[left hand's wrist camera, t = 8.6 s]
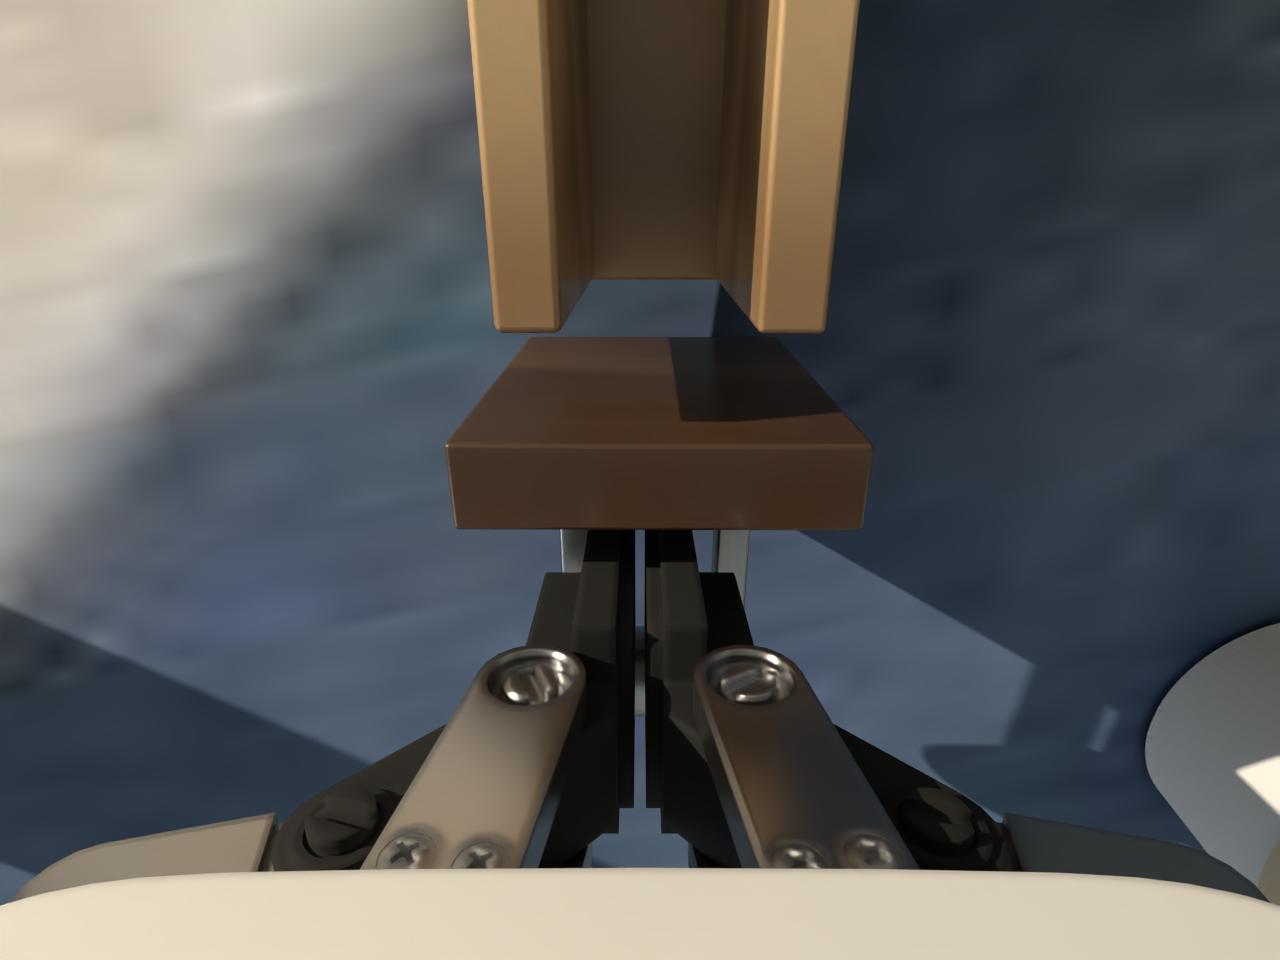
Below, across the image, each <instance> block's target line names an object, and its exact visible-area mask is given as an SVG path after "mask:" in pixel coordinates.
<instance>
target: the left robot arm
mask: <svg viewBox="0 0 1280 960" xmlns="http://www.w3.org/2000/svg"><path fill="white" fill-rule="evenodd" d="M634 740H635V530H588V534H587V540H586V546H585V552H584V558H583V564H582V570H581V572H547V573H546V574H545V577H544V581H543V584H542V588H541V592H540V596H539V599H538V603H537V607H536V610H535V614H534V618H533V622H532V625H531V629H530V633H529V637H528V640H527V644H526V646H522V647H517V648H513V649H510V650H507V651H505V652H502V653H500V654H498V655H496V656H495V657H493V658H492V659H490V660H489V661H487V662H486V663H485V664H484V666H483V667H482V668H481V669H480V670H479V671H478V673H477V674H476V676H475V678H474V679H473V681H472V683H471V684H470V686H469V688H468V689H467V691H466V693H465V694H464V696H463V698H462V699H461V701H460V703H459V704H458V706H457V708H456V709H455V711H454V713H453V714H452V716H451V718H450V719H449V721H448V723H447V724H445V725H444V726H442V727H440V728H438V729H436V730H434V731H433V732H431V733H429V734H427V735H425V736H424V737H422V738H420V739H418V740H416V741H414V742H413V743H411V744H409V745H407V746H405V747H403V748H402V749H400V750H398V751H396V752H394V753H392V754H391V755H389V756H387V757H385V758H383V759H382V760H380V761H378V762H376V763H374V764H372V765H371V766H369V767H367V768H365V769H363V770H361V771H360V772H358V773H356V774H354V775H352V776H350V777H349V778H347V779H345V780H343V781H341V782H340V783H338V784H336V785H334V786H332V787H330V788H329V789H327V790H325V791H323V792H321V793H319V794H318V795H316V796H315V797H313V798H312V799H310V800H309V801H307V802H306V803H304V804H303V805H301V806H300V807H299V808H298V809H297V810H296V811H295V812H294V813H293V814H292V815H291V816H290V817H289V818H288V819H287V820H286V821H285V822H282V823H278V822H277V818H276V814H275V813H269V814H264V815H258V816H253V817H247V818H241V819H236V820H230V821H225V822H219V823H214V824H208V825H203V826H197V827H192V828H186V829H180V830H175V831H169V832H164V833H158V834H153V835H147V836H142V837H136V838H131V839H125V840H119V841H114V842H108V843H103V844H100V845H96V846H93V847H90V848H86V849H83V850H80V851H77V852H75V853H73V854H71V855H69V856H67V857H65V858H63V859H62V860H60V861H58V862H56V863H54V864H52V865H50V866H49V867H47V868H46V869H45V870H44V871H42V872H41V873H40V874H38V875H37V876H36V877H34V878H33V879H32V880H30V881H29V882H28V883H26V884H25V886H24V887H23V888H22V889H21V890H20V891H19V892H18V894H17V895H16V896H15V897H14V898H13V899H12V900H11V902H10V903H8V904H5V905H1V906H0V960H1280V906H1279V905H1275V904H1272V903H1270V902H1269V900H1268V899H1267V898H1266V897H1265V896H1264V895H1263V894H1262V892H1261V891H1260V890H1259V889H1258V888H1257V887H1256V886H1255V884H1254V883H1252V882H1251V881H1250V880H1248V879H1247V878H1246V877H1244V876H1243V875H1242V874H1240V873H1239V872H1238V871H1236V870H1235V869H1234V868H1232V867H1231V866H1230V865H1228V864H1226V863H1224V862H1222V861H1220V860H1218V859H1217V858H1215V857H1213V856H1211V855H1209V854H1207V853H1205V852H1203V851H1200V850H1197V849H1194V848H1190V847H1187V846H1184V845H1180V844H1177V843H1172V842H1166V841H1161V840H1155V839H1149V838H1144V837H1138V836H1133V835H1127V834H1122V833H1116V832H1111V831H1105V830H1100V829H1094V828H1088V827H1083V826H1077V825H1072V824H1066V823H1061V822H1055V821H1050V820H1044V819H1039V818H1033V817H1027V816H1022V815H1016V814H1011V813H1005V814H1004V818H1003V822H1002V823H998V822H995V821H994V820H993V819H992V818H991V817H990V816H989V815H988V814H987V813H986V812H985V811H984V810H983V809H982V808H981V807H980V806H979V805H977V804H976V803H974V802H973V801H971V800H970V799H968V798H967V797H965V796H964V795H962V794H961V793H959V792H957V791H955V790H953V789H951V788H950V787H948V786H946V785H944V784H942V783H940V782H939V781H937V780H935V779H933V778H931V777H930V776H928V775H926V774H924V773H922V772H920V771H919V770H917V769H915V768H913V767H911V766H909V765H908V764H906V763H904V762H902V761H900V760H898V759H897V758H895V757H893V756H891V755H889V754H888V753H886V752H884V751H882V750H880V749H878V748H877V747H875V746H873V745H871V744H869V743H867V742H866V741H864V740H862V739H860V738H858V737H856V736H855V735H853V734H851V733H849V732H847V731H846V730H844V729H842V728H840V727H838V726H836V725H835V724H833V723H832V721H831V719H830V718H829V716H828V714H827V713H826V711H825V709H824V708H823V706H822V704H821V703H820V701H819V699H818V698H817V696H816V694H815V693H814V691H813V689H812V688H811V686H810V684H809V683H808V681H807V679H806V678H805V676H804V674H803V673H802V671H801V670H800V669H799V668H798V667H797V666H796V664H795V663H794V662H793V661H791V660H790V659H788V658H787V657H785V656H784V655H782V654H780V653H778V652H775V651H773V650H770V649H767V648H763V647H758V646H754V644H753V640H752V637H751V633H750V629H749V625H748V622H747V618H746V614H745V610H744V607H743V603H742V599H741V596H740V592H739V588H738V584H737V581H736V577H735V574H734V573H733V572H699V570H698V564H697V558H696V552H695V546H694V540H693V534H692V530H645V740H646V808H661V833H678V834H679V835H680V836H681V837H683V838H684V839H685V840H686V841H688V864H689V868H591V864H592V841H594V840H595V839H596V838H597V837H599V836H600V835H601V834H602V833H619V808H634Z"/></svg>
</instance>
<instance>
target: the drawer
mask: <svg viewBox="0 0 1280 960" xmlns="http://www.w3.org/2000/svg"><path fill="white" fill-rule="evenodd" d="M467 3H468V15H469V27H470V39H471V50H472V62H473V74H474V86H475V98H476V110H477V122H478V134H479V146H480V158H481V170H482V182H483V194H484V206H485V218H486V230H487V242H488V254H489V266H490V278H491V290H492V302H493V314H494V325H495V327H496V329H497V330H498V331H500V332H503V333H555V332H557V331H560V329H561V328H562V326H563V325H564V323H565V321H566V320H567V318H568V317H569V315H570V313H571V312H572V310H573V309H574V307H575V305H576V304H577V302H578V301H579V299H580V297H581V296H582V294H583V293H584V291H585V289H586V288H587V286H588V285H589V283H590V281H591V280H592V279H717V280H718V281H719V283H720V284H721V285H722V286H723V288H724V289H725V290H726V291H727V292H728V294H729V295H730V296H731V297H732V299H733V300H734V301H735V302H736V304H737V305H738V306H739V307H740V309H741V310H742V311H743V312H744V314H745V315H746V316H747V317H748V318H749V320H750V321H751V322H752V323H753V325H754V326H755V327H756V328H757V330H758V331H759V332H761V333H790V334H819V333H821V332H824V330H825V328H826V320H827V310H828V301H829V291H830V282H831V272H832V263H833V253H834V244H835V234H836V224H837V215H838V205H839V196H840V186H841V177H842V167H843V158H844V148H845V139H846V129H847V119H848V110H849V100H850V91H851V81H852V72H853V62H854V53H855V43H856V34H857V24H858V14H859V5H860V0H467ZM873 449H874V447H873V444H872V443H871V442H870V441H869V440H868V439H867V437H866V436H865V435H864V434H863V433H862V432H861V431H860V430H859V429H858V427H857V426H856V425H855V424H854V423H853V422H852V421H851V420H850V418H849V417H848V416H847V415H846V414H845V413H844V412H843V411H842V410H841V408H840V407H839V406H838V405H837V404H836V403H835V402H834V401H833V400H832V398H831V397H830V396H829V395H828V394H827V393H826V392H825V391H824V390H823V388H822V387H821V386H820V385H819V384H818V383H817V382H816V381H815V379H814V378H813V377H812V376H811V375H810V374H809V373H808V372H807V371H806V369H805V368H804V367H803V366H802V365H801V364H800V363H799V362H798V361H797V359H796V358H795V357H794V356H793V355H792V354H791V353H790V352H789V350H788V349H787V348H786V347H785V346H784V345H783V344H782V343H781V342H780V340H779V339H778V338H776V337H531V338H530V339H529V340H528V341H527V342H526V344H525V345H524V346H523V347H522V349H521V350H520V351H519V352H518V354H517V355H516V356H515V357H514V359H513V360H512V361H511V362H510V364H509V365H508V366H507V367H506V369H505V370H504V371H503V372H502V374H501V375H500V376H499V377H498V379H497V380H496V381H495V382H494V384H493V385H492V386H491V387H490V389H489V390H488V391H487V393H486V394H485V395H484V396H483V398H482V399H481V400H480V401H479V403H478V404H477V405H476V406H475V408H474V409H473V410H472V411H471V413H470V414H469V415H468V416H467V418H466V419H465V420H464V421H463V423H462V424H461V425H460V426H459V428H458V429H457V430H456V431H455V433H454V434H453V435H452V436H451V438H450V439H449V440H448V441H447V443H446V445H445V453H446V461H447V470H448V478H449V486H450V495H451V503H452V511H453V520H454V525H455V527H456V528H457V529H559V533H560V552H561V571H562V572H581V570H582V564H583V558H584V552H585V546H586V540H587V534H588V530H713V548H712V569H711V572H733V573H734V574H735V577H736V581H737V584H738V588H739V592H740V596H741V599H742V603H743V607H745V592H746V578H747V563H748V549H749V535H750V530H861V528H862V526H863V520H864V513H865V506H866V499H867V492H868V485H869V478H870V470H871V463H872V456H873ZM635 716H645V626H635Z"/></svg>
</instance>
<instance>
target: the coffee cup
mask: <svg viewBox="0 0 1280 960" xmlns="http://www.w3.org/2000/svg"><path fill="white" fill-rule="evenodd" d="M1145 758H1146V765H1147V769H1148V772H1149V775H1150V777H1151V779H1152V781H1153V783H1154V784H1155V786H1156V787H1157V789H1158V790H1159V791H1160V793H1161V794H1162V795H1163V797H1164V798H1165V799H1166V800H1167V802H1168V803H1169V804H1170V806H1171V807H1172V808H1173V809H1174V811H1175V812H1176V813H1177V814H1178V816H1179V817H1180V818H1181V820H1182V821H1183V822H1184V823H1185V825H1186V826H1187V827H1188V829H1189V830H1190V831H1191V832H1192V834H1193V835H1194V836H1195V838H1196V839H1197V840H1198V841H1199V843H1200V844H1201V845H1202V847H1203V848H1204V849H1205V850H1206V852H1207V853H1208V854H1209V855H1211V856H1213V857H1215V858H1217V859H1218V860H1220V861H1222V862H1224V863H1226V864H1228V865H1230V866H1231V867H1232V868H1234V869H1235V870H1236V871H1238V872H1239V873H1240V874H1242V875H1243V876H1244V877H1246V878H1247V879H1248V880H1250V881H1251V882H1252V883H1254V884H1255V886H1256V887H1257V888H1258V889H1259V890H1260V891H1261V892H1262V894H1263V895H1264V896H1265V897H1266V898H1267V899H1268V900H1269V902H1270V903H1272V904H1275V905H1279V906H1280V623H1277V624H1274V625H1270V626H1267V627H1264V628H1261V629H1258V630H1256V631H1253V632H1251V633H1248V634H1246V635H1243V636H1241V637H1239V638H1237V639H1235V640H1233V641H1231V642H1229V643H1227V644H1225V645H1224V646H1222V647H1220V648H1219V649H1217V650H1215V651H1214V652H1212V653H1211V654H1209V655H1208V656H1206V657H1205V658H1204V659H1202V660H1201V661H1200V662H1198V663H1197V664H1196V665H1195V666H1194V667H1192V668H1191V669H1190V670H1189V671H1188V672H1187V673H1186V674H1185V675H1184V676H1183V677H1182V678H1181V679H1180V680H1179V681H1178V682H1177V683H1176V684H1175V685H1174V686H1173V687H1172V689H1171V690H1170V691H1169V692H1168V694H1167V695H1166V696H1165V698H1164V699H1163V701H1162V702H1161V704H1160V705H1159V707H1158V709H1157V711H1156V713H1155V715H1154V717H1153V719H1152V721H1151V724H1150V727H1149V730H1148V733H1147V738H1146V745H1145Z"/></svg>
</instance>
